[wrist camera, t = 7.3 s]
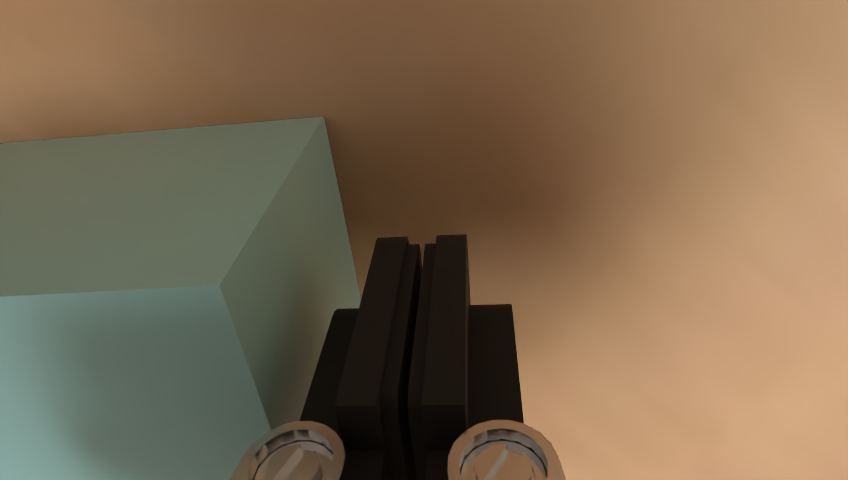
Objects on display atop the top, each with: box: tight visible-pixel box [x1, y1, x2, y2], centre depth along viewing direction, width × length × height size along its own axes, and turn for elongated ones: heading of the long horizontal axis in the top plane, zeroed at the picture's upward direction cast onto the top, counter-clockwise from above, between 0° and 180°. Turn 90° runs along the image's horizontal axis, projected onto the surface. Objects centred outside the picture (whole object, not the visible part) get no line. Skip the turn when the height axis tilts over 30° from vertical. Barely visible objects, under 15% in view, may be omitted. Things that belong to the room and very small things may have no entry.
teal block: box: [0, 116, 361, 480], centre depth 12 cm, size 8×10×6 cm
